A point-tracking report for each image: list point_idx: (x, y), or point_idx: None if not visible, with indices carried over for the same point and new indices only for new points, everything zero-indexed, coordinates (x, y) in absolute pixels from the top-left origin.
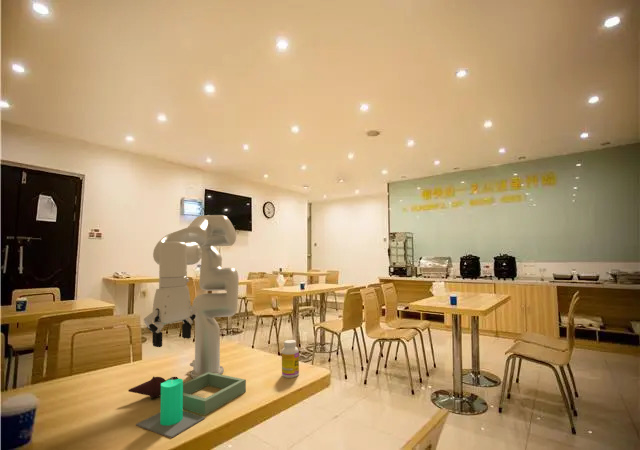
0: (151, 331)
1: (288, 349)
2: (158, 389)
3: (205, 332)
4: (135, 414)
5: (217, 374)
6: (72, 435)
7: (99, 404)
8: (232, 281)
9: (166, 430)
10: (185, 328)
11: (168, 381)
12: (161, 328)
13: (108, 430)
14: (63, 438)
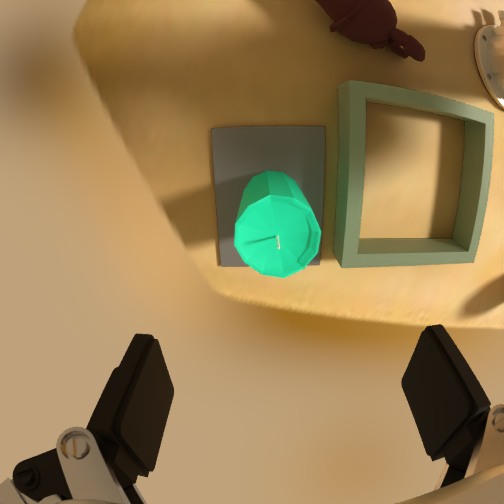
0: (70, 438)
1: None
2: (353, 36)
3: None
4: (249, 64)
5: (489, 157)
6: (113, 47)
7: None
8: None
9: (231, 233)
10: (436, 417)
11: (286, 203)
12: (138, 500)
13: (162, 90)
14: (99, 47)
